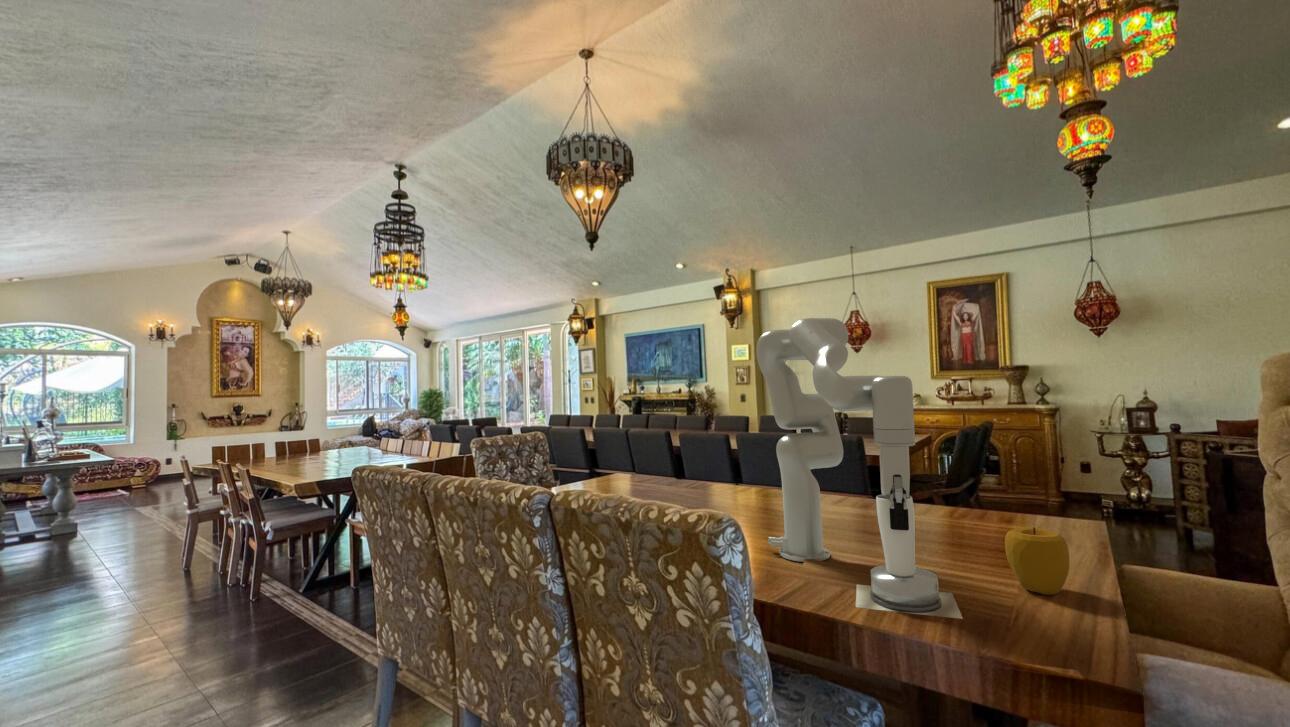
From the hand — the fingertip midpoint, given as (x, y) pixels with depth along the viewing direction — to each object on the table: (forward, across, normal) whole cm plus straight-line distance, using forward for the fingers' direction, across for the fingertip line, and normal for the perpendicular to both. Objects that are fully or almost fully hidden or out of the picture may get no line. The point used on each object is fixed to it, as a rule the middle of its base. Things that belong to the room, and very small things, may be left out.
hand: (898, 523), depth 107 cm
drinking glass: (+10, 0, 0) cm, 10 cm away
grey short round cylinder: (+15, +1, +1) cm, 15 cm away
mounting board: (+16, +1, +1) cm, 16 cm away
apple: (+16, -15, +27) cm, 35 cm away
